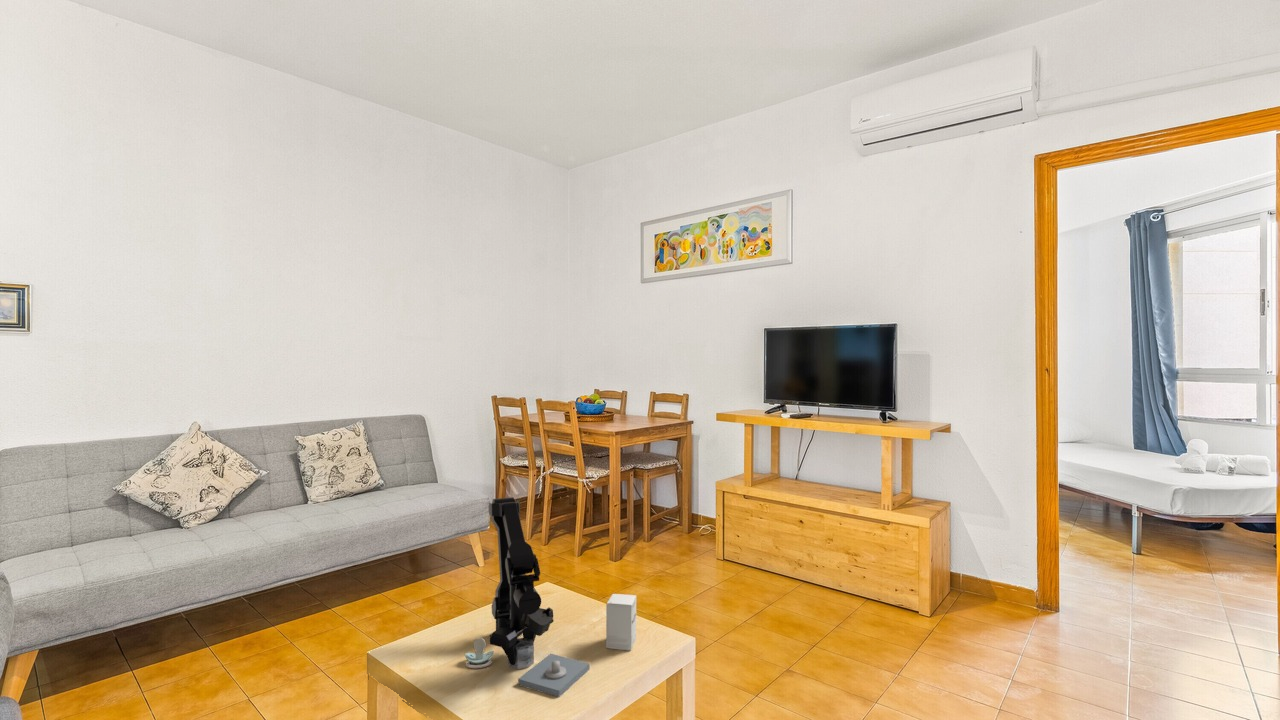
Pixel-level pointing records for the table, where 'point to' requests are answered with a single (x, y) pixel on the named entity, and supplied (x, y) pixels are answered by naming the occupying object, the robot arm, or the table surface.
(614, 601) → the supplement box
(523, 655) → the hub
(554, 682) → the block
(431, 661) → the table surface
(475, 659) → the pacifier
